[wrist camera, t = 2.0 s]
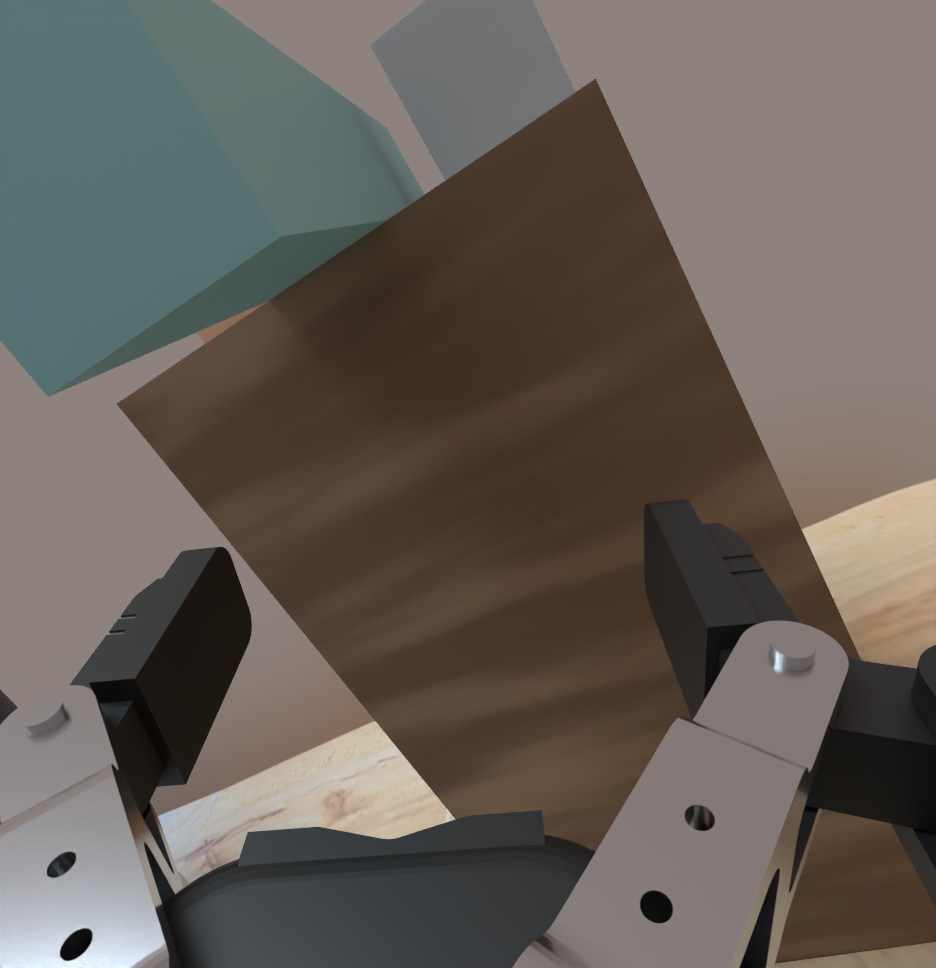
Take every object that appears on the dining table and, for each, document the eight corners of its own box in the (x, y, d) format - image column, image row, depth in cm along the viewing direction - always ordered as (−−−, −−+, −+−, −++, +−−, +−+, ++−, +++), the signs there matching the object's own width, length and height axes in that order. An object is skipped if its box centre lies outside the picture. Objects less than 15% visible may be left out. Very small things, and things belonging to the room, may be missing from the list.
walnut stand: (986, 934, 25) (595, 78, 14) (592, 987, 30) (116, 403, 20) (848, 657, 38) (593, 107, 28) (592, 731, 44) (303, 299, 33)
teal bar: (282, 236, 8) (48, -118, 7) (47, 396, 9) (-196, 110, 8) (434, 212, 30) (386, 127, 29) (362, 259, 31) (312, 179, 30)
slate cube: (580, 102, 19) (503, -63, 18) (450, 189, 21) (370, 45, 19) (582, 108, 23) (519, -26, 22) (473, 182, 25) (407, 61, 23)
